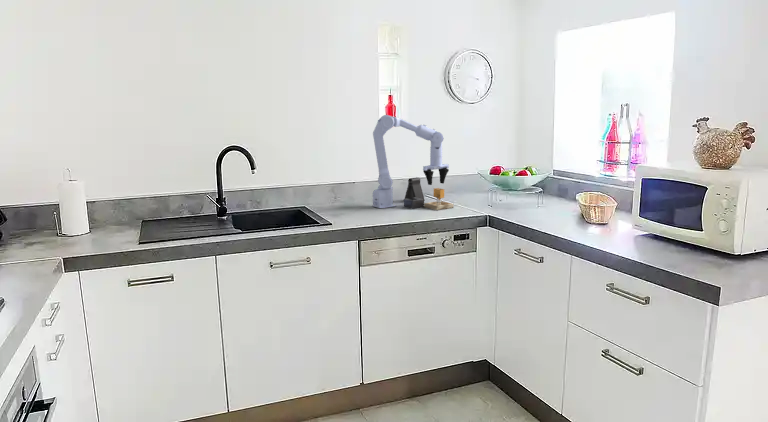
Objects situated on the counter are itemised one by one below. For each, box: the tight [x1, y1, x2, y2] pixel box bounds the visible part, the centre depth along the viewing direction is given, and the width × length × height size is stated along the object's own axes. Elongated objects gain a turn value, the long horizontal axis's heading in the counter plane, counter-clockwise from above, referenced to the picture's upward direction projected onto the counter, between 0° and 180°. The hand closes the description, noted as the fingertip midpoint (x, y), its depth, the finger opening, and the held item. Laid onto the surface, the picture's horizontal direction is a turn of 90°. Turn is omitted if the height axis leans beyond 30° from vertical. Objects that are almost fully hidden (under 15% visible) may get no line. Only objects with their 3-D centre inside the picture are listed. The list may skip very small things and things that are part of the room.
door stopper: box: [403, 176, 426, 202], centre depth 294 cm, size 9×6×12 cm, turn 44°
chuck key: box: [433, 187, 445, 206], centre depth 276 cm, size 5×2×8 cm, turn 34°
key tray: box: [424, 200, 455, 211], centre depth 277 cm, size 10×10×2 cm
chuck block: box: [403, 197, 425, 210], centre depth 278 cm, size 7×7×4 cm
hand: (436, 184), depth 282 cm, fingers open, 7 cm apart
